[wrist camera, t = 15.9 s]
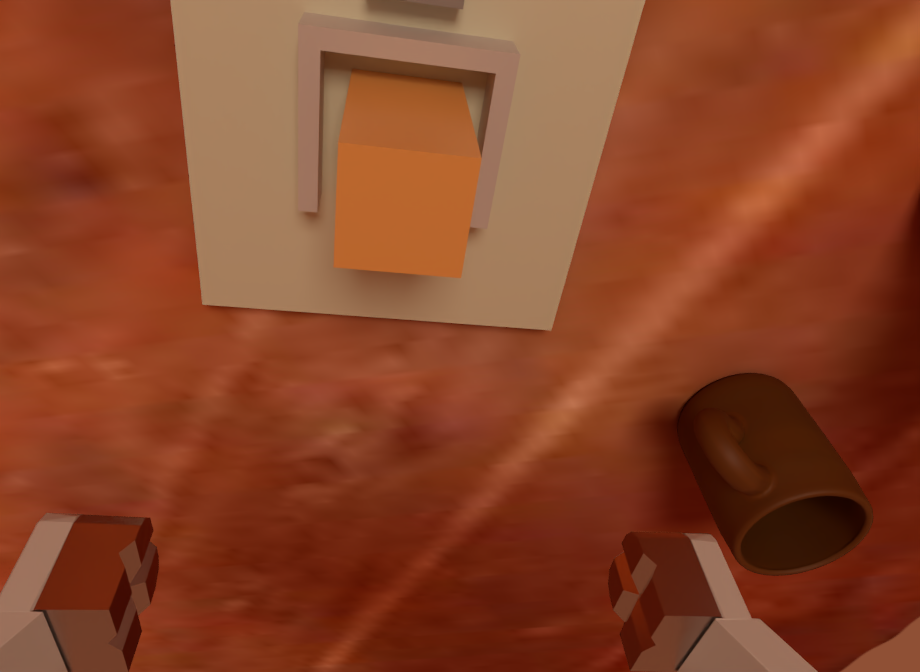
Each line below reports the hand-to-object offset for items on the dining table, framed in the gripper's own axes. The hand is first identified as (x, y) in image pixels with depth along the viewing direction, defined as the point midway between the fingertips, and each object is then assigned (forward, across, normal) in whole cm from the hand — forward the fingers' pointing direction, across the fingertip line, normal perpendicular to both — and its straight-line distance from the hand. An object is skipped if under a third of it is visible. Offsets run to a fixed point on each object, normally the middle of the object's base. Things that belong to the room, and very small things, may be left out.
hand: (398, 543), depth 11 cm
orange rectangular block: (+21, 0, 0) cm, 21 cm away
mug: (+22, -21, +15) cm, 34 cm away
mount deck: (+22, 0, 0) cm, 22 cm away
